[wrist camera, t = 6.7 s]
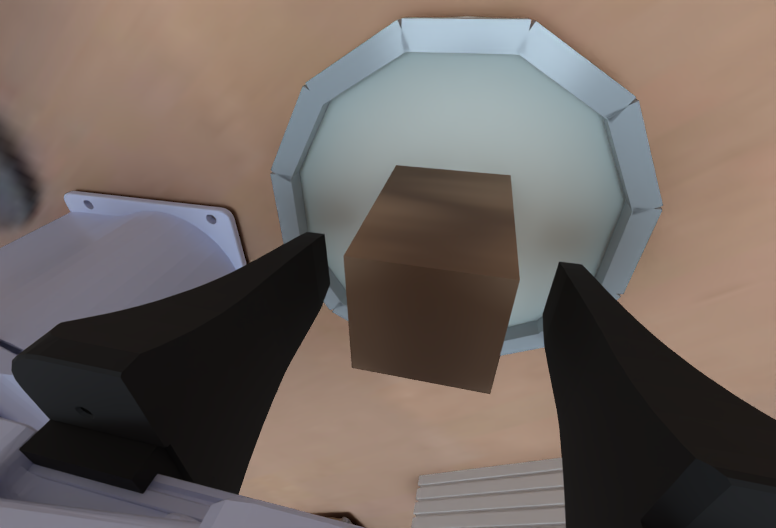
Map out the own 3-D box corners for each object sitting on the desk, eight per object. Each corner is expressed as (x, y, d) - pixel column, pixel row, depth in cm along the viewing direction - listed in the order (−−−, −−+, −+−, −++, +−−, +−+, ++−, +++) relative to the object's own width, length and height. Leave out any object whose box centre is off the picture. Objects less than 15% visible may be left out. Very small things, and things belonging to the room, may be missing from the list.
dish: (315, 305, 21) (300, 332, 19) (271, 14, 13) (240, 17, 11) (575, 347, 18) (582, 380, 16) (711, 17, 10) (750, 21, 9)
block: (394, 256, 16) (351, 367, 11) (396, 165, 14) (343, 256, 9) (491, 269, 15) (490, 394, 10) (510, 175, 13) (519, 280, 8)
